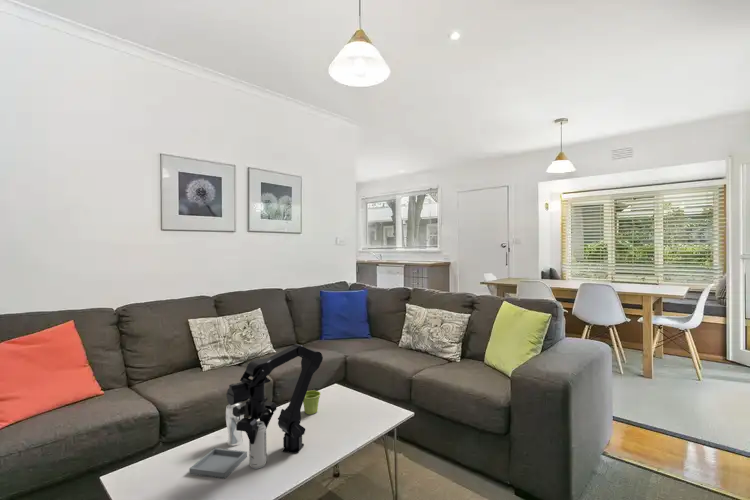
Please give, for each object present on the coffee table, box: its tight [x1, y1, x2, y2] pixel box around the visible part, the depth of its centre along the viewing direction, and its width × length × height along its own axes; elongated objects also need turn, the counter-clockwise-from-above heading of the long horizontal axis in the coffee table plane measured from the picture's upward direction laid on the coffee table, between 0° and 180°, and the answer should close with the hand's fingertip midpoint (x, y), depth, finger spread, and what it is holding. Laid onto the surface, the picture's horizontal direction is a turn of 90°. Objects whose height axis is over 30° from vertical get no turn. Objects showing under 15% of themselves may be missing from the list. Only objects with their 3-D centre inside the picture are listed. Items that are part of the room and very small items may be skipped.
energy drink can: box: [248, 420, 267, 470], centre depth 138 cm, size 6×6×15 cm
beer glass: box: [225, 402, 245, 447], centre depth 155 cm, size 7×7×15 cm
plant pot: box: [302, 390, 321, 415], centre depth 183 cm, size 9×9×9 cm
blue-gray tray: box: [188, 447, 248, 480], centre depth 138 cm, size 14×14×2 cm
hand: (257, 438), depth 138 cm, fingers open, 7 cm apart
